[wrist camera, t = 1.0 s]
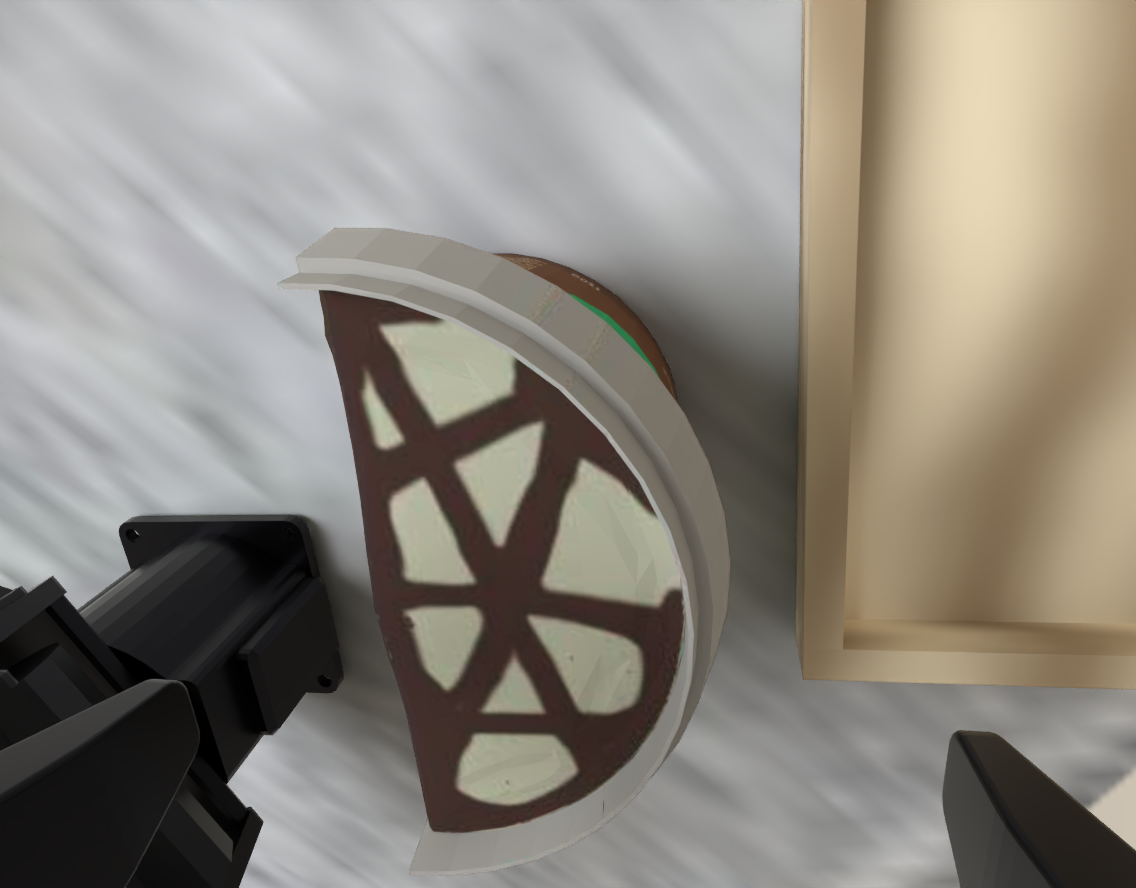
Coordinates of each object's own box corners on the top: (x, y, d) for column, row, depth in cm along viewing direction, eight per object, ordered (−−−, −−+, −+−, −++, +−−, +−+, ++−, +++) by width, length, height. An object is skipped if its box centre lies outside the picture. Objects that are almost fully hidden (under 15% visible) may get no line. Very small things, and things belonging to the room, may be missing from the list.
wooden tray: (795, 635, 23) (803, 679, 21) (802, -77, 16) (814, -104, 15) (1264, 645, 20) (1319, 695, 19) (1485, -181, 14) (1601, -229, 12)
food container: (727, 610, 23) (738, 926, 14) (526, 606, 24) (413, 895, 15) (718, 173, 19) (726, 207, 9) (473, 194, 20) (267, 243, 11)
